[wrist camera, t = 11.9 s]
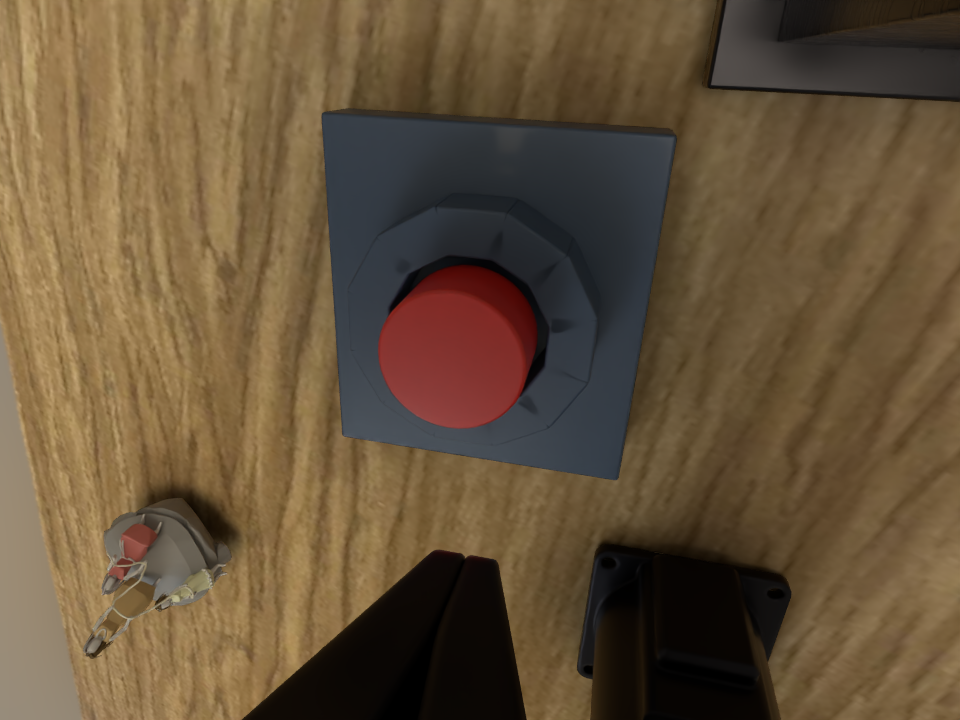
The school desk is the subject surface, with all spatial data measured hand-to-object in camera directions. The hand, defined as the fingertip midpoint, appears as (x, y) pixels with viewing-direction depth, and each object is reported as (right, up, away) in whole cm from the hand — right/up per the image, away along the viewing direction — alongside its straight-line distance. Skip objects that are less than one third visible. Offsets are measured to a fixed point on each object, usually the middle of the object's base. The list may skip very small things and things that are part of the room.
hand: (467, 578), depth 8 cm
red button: (0, +4, +8) cm, 9 cm away
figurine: (-12, -4, +18) cm, 22 cm away
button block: (+1, +5, +11) cm, 12 cm away
